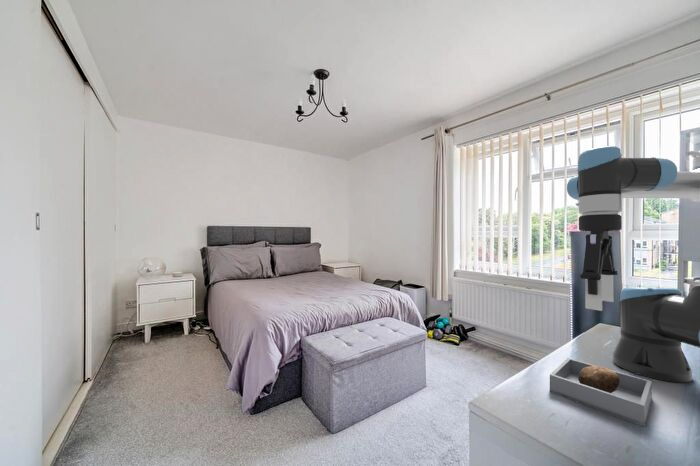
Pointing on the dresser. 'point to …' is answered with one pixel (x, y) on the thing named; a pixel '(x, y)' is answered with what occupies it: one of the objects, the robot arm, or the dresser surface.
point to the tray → (623, 402)
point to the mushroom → (599, 378)
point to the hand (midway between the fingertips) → (600, 305)
